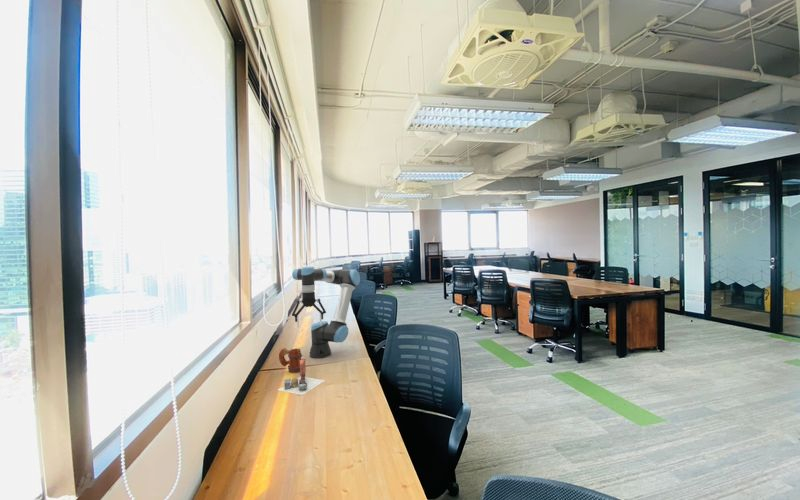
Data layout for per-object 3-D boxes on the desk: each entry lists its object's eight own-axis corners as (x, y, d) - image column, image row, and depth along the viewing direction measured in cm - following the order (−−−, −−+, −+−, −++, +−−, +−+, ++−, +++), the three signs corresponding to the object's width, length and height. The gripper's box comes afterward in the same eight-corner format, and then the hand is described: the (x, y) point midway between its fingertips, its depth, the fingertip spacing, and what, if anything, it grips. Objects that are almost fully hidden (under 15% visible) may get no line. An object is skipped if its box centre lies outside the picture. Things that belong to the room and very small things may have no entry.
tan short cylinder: (294, 384, 180) (294, 378, 180) (299, 385, 178) (299, 379, 178) (289, 387, 176) (289, 380, 176) (295, 388, 175) (294, 381, 175)
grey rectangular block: (285, 385, 178) (284, 379, 178) (290, 385, 179) (290, 378, 179) (284, 389, 173) (284, 383, 173) (290, 388, 174) (290, 382, 174)
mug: (305, 370, 203) (304, 346, 203) (300, 375, 195) (299, 350, 195) (283, 369, 205) (282, 346, 205) (276, 374, 197) (276, 350, 197)
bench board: (301, 378, 191) (301, 375, 191) (325, 382, 184) (325, 379, 184) (277, 392, 173) (277, 388, 173) (302, 397, 167) (302, 393, 167)
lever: (307, 389, 171) (306, 369, 171) (298, 390, 170) (297, 370, 170) (307, 376, 188) (306, 358, 188) (299, 377, 187) (298, 359, 187)
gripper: (286, 293, 192) (288, 329, 193) (329, 291, 200) (330, 325, 200) (287, 292, 199) (288, 326, 200) (328, 289, 207) (329, 322, 207)
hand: (309, 325), depth 200 cm, fingers open, 13 cm apart
